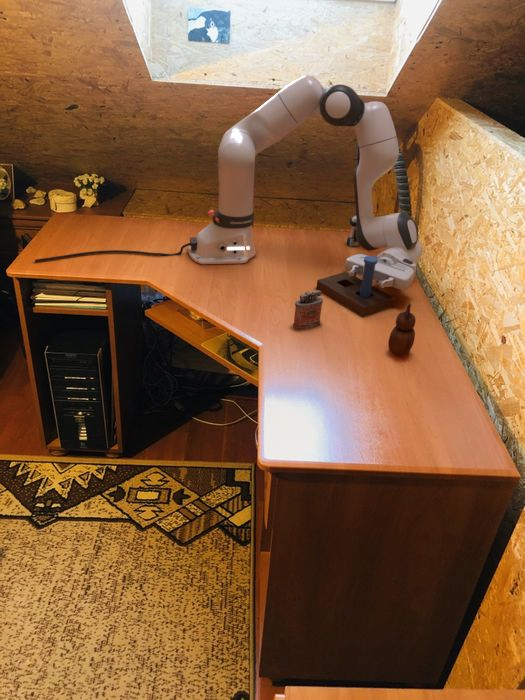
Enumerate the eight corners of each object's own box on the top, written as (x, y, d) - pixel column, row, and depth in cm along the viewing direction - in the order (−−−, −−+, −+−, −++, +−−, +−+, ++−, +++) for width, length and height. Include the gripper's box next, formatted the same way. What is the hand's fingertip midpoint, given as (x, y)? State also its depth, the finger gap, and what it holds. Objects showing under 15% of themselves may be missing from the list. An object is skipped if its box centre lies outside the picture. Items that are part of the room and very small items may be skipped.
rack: (362, 317, 160) (364, 307, 159) (316, 288, 174) (317, 279, 172) (392, 306, 167) (394, 297, 165) (345, 280, 180) (346, 271, 178)
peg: (360, 307, 165) (368, 262, 158) (354, 301, 168) (361, 256, 161) (372, 305, 167) (380, 260, 159) (365, 299, 170) (373, 255, 162)
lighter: (296, 331, 152) (300, 297, 146) (290, 325, 154) (293, 292, 149) (322, 325, 155) (326, 292, 150) (315, 319, 158) (319, 287, 152)
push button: (357, 240, 208) (361, 213, 203) (367, 245, 204) (371, 218, 199) (343, 243, 205) (346, 216, 199) (352, 248, 201) (356, 221, 196)
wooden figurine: (404, 362, 142) (417, 309, 134) (383, 355, 144) (393, 302, 136) (414, 350, 147) (426, 298, 139) (392, 343, 149) (403, 292, 141)
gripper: (360, 245, 175) (335, 258, 166) (421, 265, 165) (399, 281, 156) (357, 264, 179) (333, 278, 169) (417, 285, 169) (395, 301, 159)
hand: (365, 279), depth 163 cm, fingers open, 8 cm apart
